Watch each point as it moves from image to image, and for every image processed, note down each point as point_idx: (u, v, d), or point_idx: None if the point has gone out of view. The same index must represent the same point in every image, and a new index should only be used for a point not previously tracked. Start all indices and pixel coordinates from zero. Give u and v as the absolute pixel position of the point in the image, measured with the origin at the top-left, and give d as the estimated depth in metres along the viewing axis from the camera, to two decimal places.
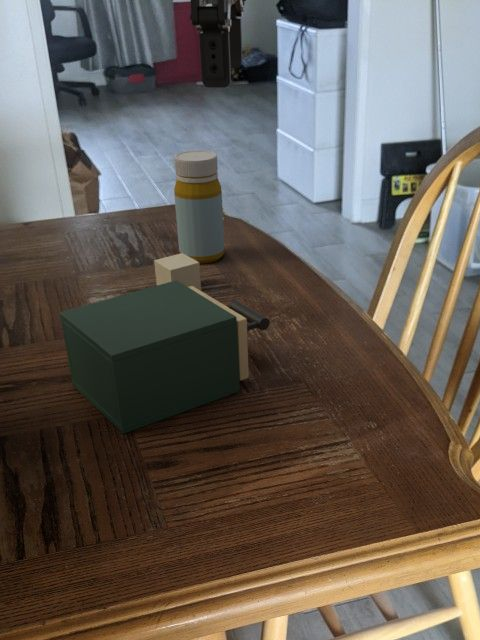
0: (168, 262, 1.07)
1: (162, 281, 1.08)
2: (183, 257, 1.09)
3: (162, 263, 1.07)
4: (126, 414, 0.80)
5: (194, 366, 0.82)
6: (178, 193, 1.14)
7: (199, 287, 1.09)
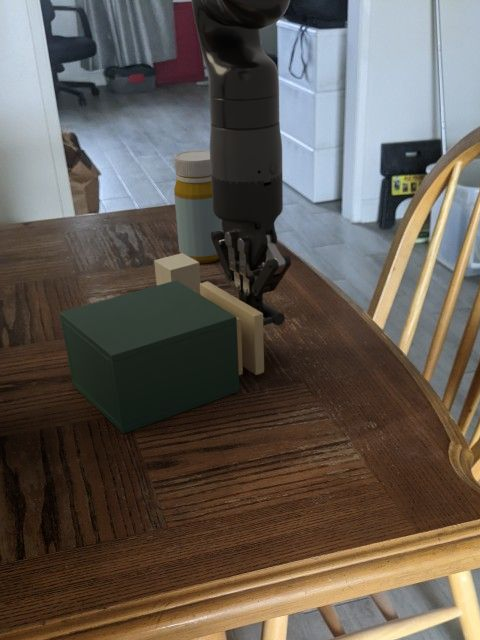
0: (168, 262, 1.07)
1: (162, 281, 1.08)
2: (183, 257, 1.09)
3: (162, 263, 1.07)
4: (126, 414, 0.80)
5: (194, 366, 0.82)
6: (178, 193, 1.14)
7: (199, 287, 1.09)
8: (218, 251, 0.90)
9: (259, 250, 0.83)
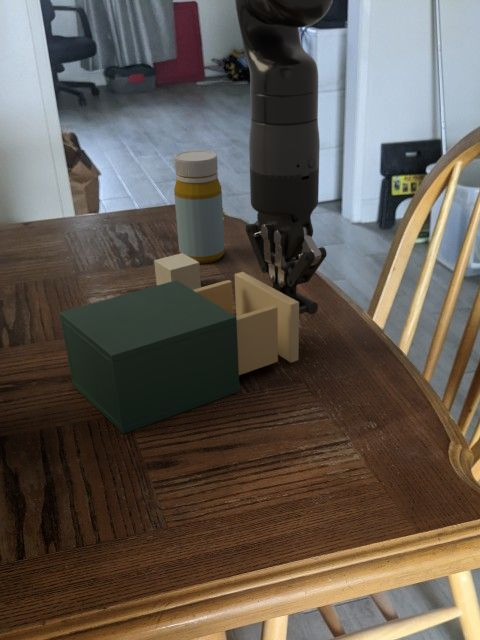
0: (168, 262, 1.07)
1: (162, 281, 1.08)
2: (183, 257, 1.09)
3: (162, 263, 1.07)
4: (126, 414, 0.80)
5: (194, 366, 0.82)
6: (178, 193, 1.14)
7: (199, 287, 1.09)
8: (252, 243, 0.93)
9: (295, 242, 0.86)
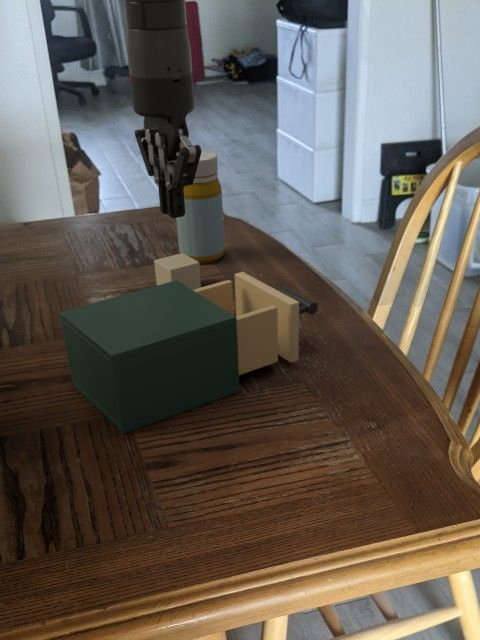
0: (168, 262, 1.07)
1: (162, 281, 1.08)
2: (183, 257, 1.09)
3: (162, 263, 1.07)
4: (126, 414, 0.80)
5: (194, 366, 0.82)
6: None
7: (199, 287, 1.09)
8: (140, 148, 1.02)
9: (173, 143, 0.95)
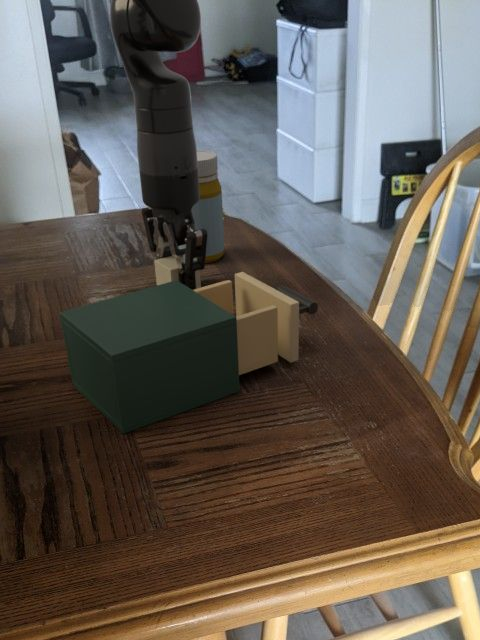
0: (168, 262, 1.07)
1: (162, 281, 1.08)
2: (183, 257, 1.09)
3: (162, 263, 1.07)
4: (126, 414, 0.80)
5: (194, 366, 0.82)
6: None
7: (199, 287, 1.09)
8: (145, 225, 1.09)
9: (179, 232, 1.02)
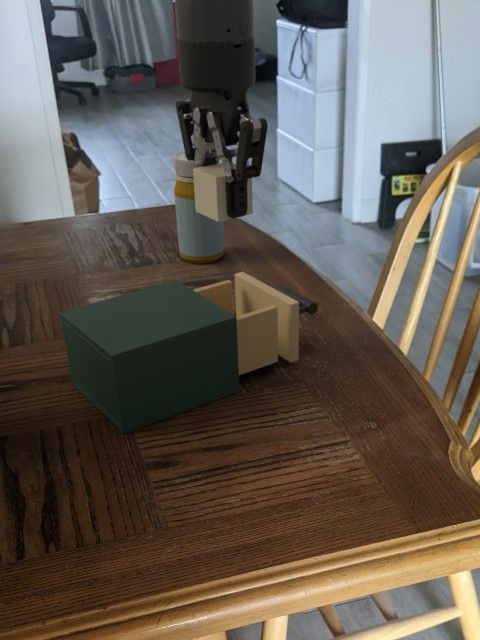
0: (212, 170, 0.83)
1: (203, 196, 0.84)
2: None
3: (204, 171, 0.83)
4: (126, 414, 0.80)
5: (194, 366, 0.82)
6: (178, 193, 1.14)
7: (250, 205, 0.85)
8: (181, 124, 0.84)
9: (230, 124, 0.77)
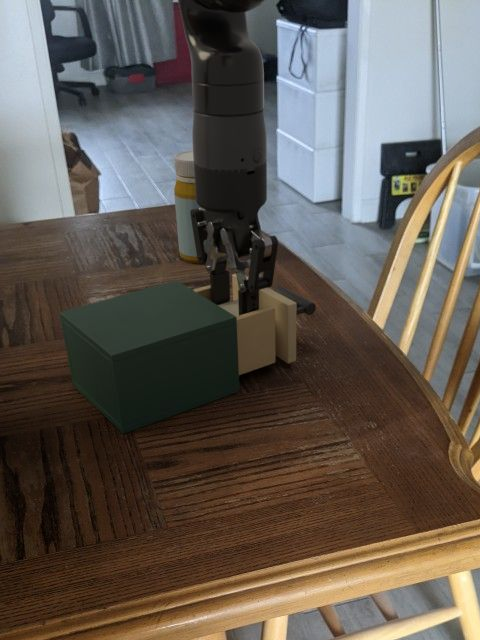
0: None
1: None
2: None
3: None
4: (126, 414, 0.80)
5: (194, 366, 0.82)
6: (178, 193, 1.14)
7: None
8: (194, 229, 0.89)
9: (242, 241, 0.82)
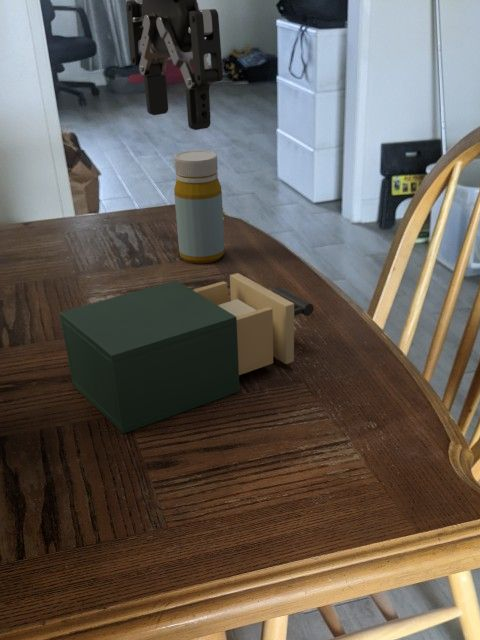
0: None
1: None
2: (239, 304, 0.91)
3: None
4: (126, 414, 0.80)
5: (194, 366, 0.82)
6: (178, 193, 1.14)
7: None
8: (129, 25, 0.80)
9: (179, 30, 0.73)
